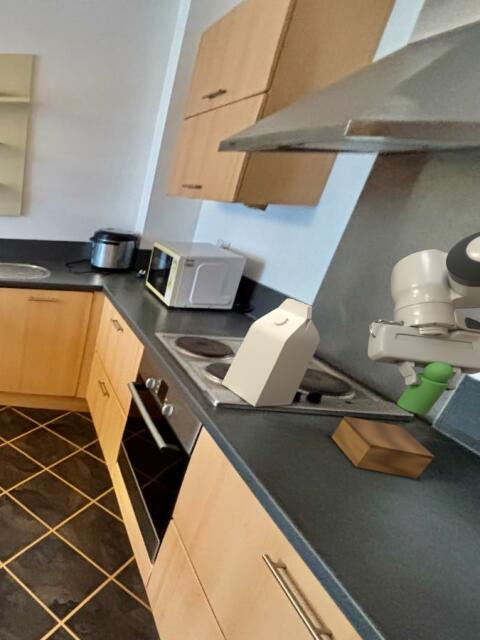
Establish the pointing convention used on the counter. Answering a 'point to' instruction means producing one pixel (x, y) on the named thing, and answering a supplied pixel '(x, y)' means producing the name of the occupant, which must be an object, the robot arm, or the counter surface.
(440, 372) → the toy
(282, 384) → the milk
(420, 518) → the counter surface
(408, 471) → the oak block
